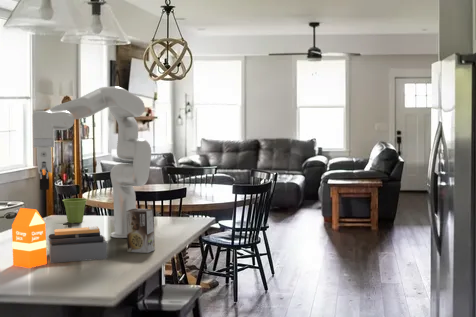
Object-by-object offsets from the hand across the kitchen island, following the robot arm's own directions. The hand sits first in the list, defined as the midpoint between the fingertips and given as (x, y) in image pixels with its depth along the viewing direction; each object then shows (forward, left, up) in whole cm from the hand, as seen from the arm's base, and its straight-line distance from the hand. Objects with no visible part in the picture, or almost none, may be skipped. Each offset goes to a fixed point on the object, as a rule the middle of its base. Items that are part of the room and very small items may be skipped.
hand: (44, 188), depth 251 cm
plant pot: (-16, -73, -25) cm, 79 cm away
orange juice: (+6, +18, -25) cm, 32 cm away
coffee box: (-35, +9, -25) cm, 44 cm away
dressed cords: (-10, +10, -19) cm, 24 cm away
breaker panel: (-11, +10, -25) cm, 29 cm away
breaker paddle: (-11, +10, -16) cm, 22 cm away
